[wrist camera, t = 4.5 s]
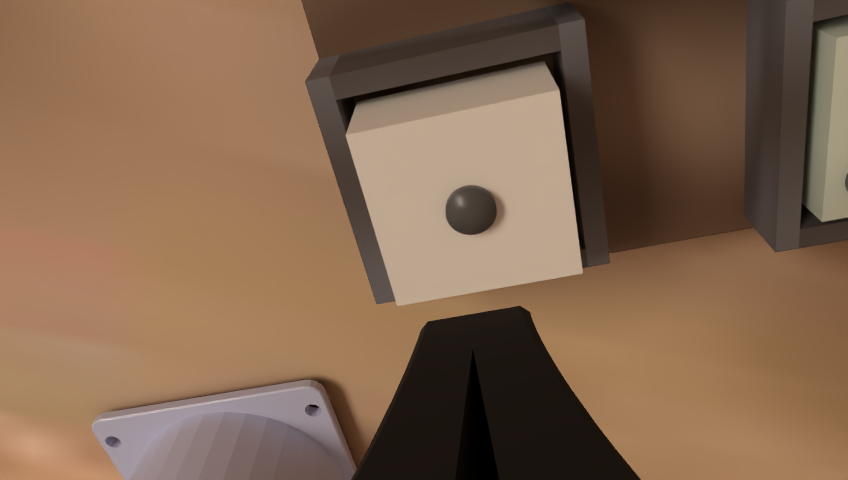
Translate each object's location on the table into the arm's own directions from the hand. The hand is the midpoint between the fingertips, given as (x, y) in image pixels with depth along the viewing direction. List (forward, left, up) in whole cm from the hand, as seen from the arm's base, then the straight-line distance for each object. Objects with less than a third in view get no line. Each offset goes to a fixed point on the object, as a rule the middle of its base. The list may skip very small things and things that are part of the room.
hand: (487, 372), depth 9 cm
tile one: (0, 0, -7) cm, 7 cm away
